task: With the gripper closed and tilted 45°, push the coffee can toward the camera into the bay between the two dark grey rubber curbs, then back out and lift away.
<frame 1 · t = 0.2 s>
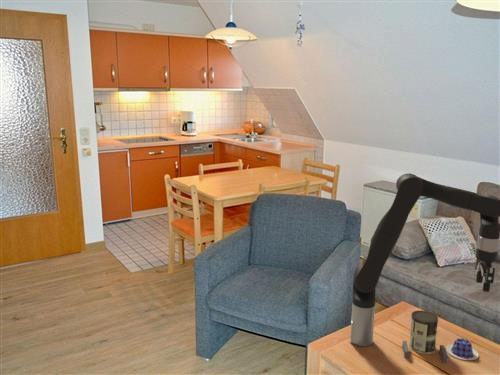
hand: (482, 286, 174), 29 cm above the table, tool pointing down, fingers open, 8 cm apart
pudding: (462, 353, 181), on the table
coffee can: (421, 347, 185), on the table
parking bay: (424, 354, 179), on the table
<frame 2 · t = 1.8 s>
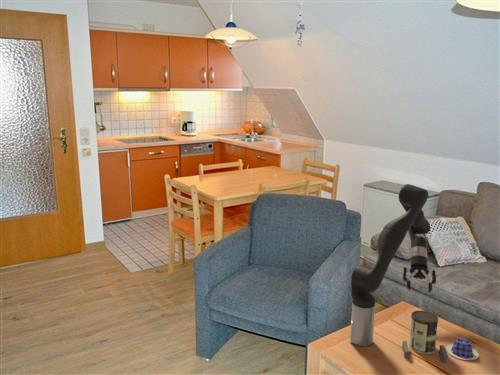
hand: (419, 291, 201), 16 cm above the table, tool tilted 45°, fingers open, 8 cm apart
nothing on the table moved.
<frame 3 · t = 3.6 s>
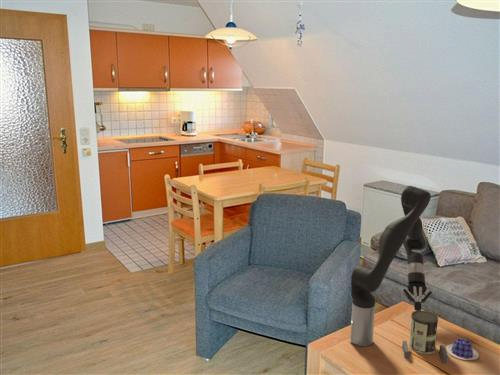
hand: (418, 311, 197), 9 cm above the table, tool tilted 45°, fingers closed
nothing on the table moved.
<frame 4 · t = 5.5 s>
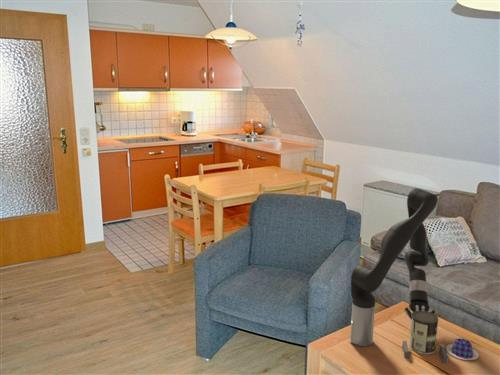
hand: (420, 331, 189), 4 cm above the table, tool tilted 45°, fingers closed
coffee can: (421, 347, 184), on the table, touching gripper
everything else where it was.
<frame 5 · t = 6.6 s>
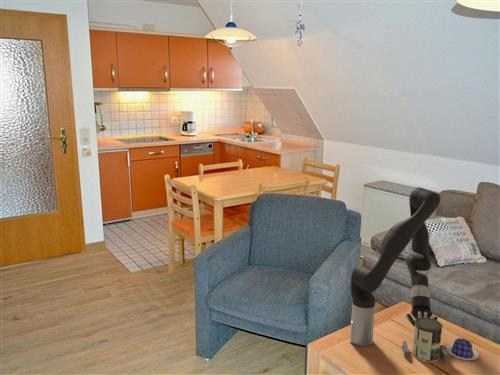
hand: (423, 338, 183), 4 cm above the table, tool tilted 45°, fingers closed
coffee can: (425, 355, 179), on the table, touching gripper
everything else where it was.
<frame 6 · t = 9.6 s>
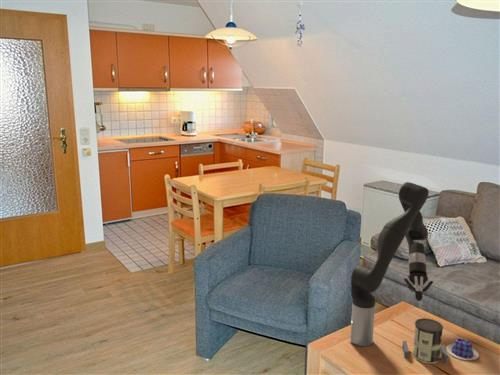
hand: (419, 300, 196), 14 cm above the table, tool tilted 45°, fingers closed
coffee can: (425, 356, 178), on the table
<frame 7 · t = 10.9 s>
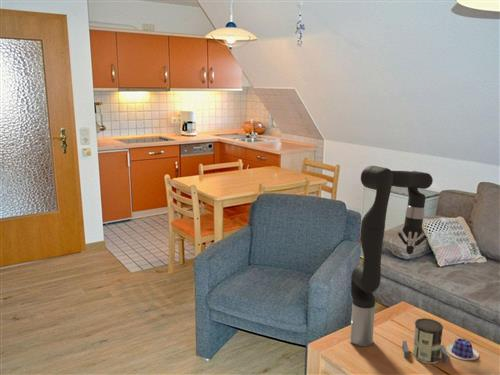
hand: (409, 253, 200), 33 cm above the table, tool pointing down, fingers closed
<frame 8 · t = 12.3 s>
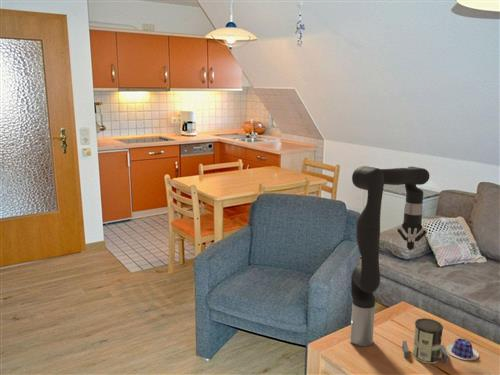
hand: (410, 249, 199), 35 cm above the table, tool pointing down, fingers closed
at the end: coffee can 0.5 cm from the target spot, on the table; coffee can tilted 0°; the gripper is holding nothing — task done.
